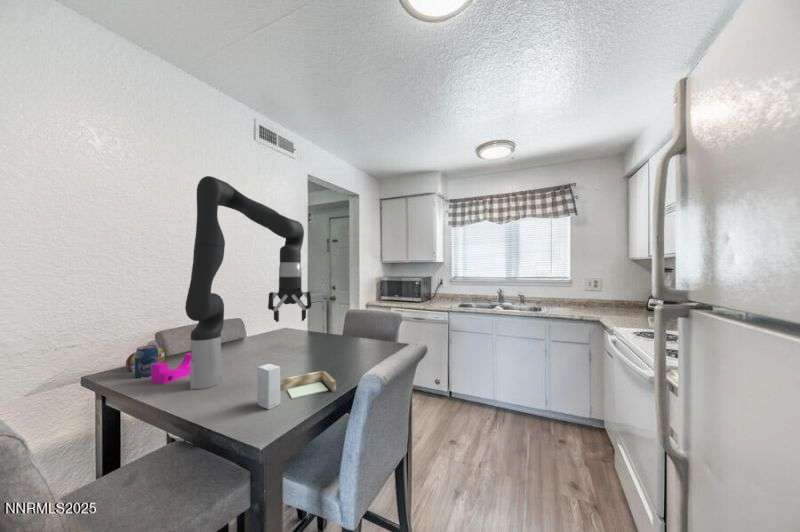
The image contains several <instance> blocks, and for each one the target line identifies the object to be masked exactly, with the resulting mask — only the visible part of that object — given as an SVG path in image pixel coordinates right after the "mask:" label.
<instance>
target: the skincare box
mask: <svg viewBox="0 0 800 532" xmlns="http://www.w3.org/2000/svg"><path fill="white" fill-rule="evenodd" d="M280 379H281V366H278V365H275V364H272V363H267V364H263V365H260V366H257V406H259V407H261V408H264V409H267V410H271V409H273V408H275V407H278V406H279V405H281V390H280Z"/></svg>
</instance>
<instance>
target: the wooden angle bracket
mask: <svg viewBox="0 0 800 532" xmlns="http://www.w3.org/2000/svg"><path fill="white" fill-rule="evenodd" d="M318 382H323V383H324V384H325V386H327V387H326V388H327V389H328V390H329V389H330V391H331V392H332V393H334V392H337V380H335V378H333V377H332V376H331V375H330V374H329V373H328V372H327V371H326V370H318V371H315V372H310V373H309V372H308V373H304V374H300V375H295V376H290V377H284V378H280V391H283V390H287V389H291V388H295V387H300V386H305V385H309V384H314V383H318Z"/></svg>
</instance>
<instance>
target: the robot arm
mask: <svg viewBox="0 0 800 532" xmlns="http://www.w3.org/2000/svg"><path fill="white" fill-rule="evenodd" d="M219 207H225V208H228V209H232V210H235V211H236V212H239V213H240V214H242V215H244V216H245V217H247V219H249V220H250V221H252V222H254V223H255V224H258V225H259V226H262V227H264V228H266V229H267V230H269V231H271V232H272V233H274V234H275V235H277V236H279V237H281V238H283V239H285V242H284V245H283V246H281V247H280V249H279V265H278V291H277V292H274V291H270V292H269V293H268V303H267V305H268V306H267V309H268V311H269V310H271V311H273V320H274V321H275V322H276V323H278V322H279V321H280V310H279V309H280V308H281V307H282V305H283V304H284V305H295V304H297V305H298V306H299V308H301V322H304V321H305V320H306V318H307V310H308V309H311V308H312V296H311V295H312V294H311V291H310V290H308V291H303V290H302V274H303V273H302V260H301V259H302V258H301V257H302V253H301V251H302V247H303V242H304V238H305V229H304V226H303V224H302V222H301V221H297V220H294V219H293V218H289V217H287V216H284V215H283V214H280V213H279V212H278V211H276V210H275V209H273V208H271V207H269V206H267V205H265V204H263V203H261V202H258V201H255V200H253V199H251V198H249V197H248V196H246V195H244V194H243V193H242V192H240V191H239V190H238V189H236V188H235V187H233V186H232V185H231V184H230V183H228V182H226V181H224V180H221V179H220V178H216V177H214V176H210V175H206V176H203V177H202V178H200V180H199V181H198V184H197V187H196V227H195V237H194V246H193V257H192V267H191V276H190V283H189V286H188V291H187V295H186V298H185V299H186V300H185V308H184V309H185V313H186V316H187V317H188V318H189V319H190V320H191V321H193V322H197V324H196V326H195V328H193V330H191V332H190V353H191V362H190V374H189V375H190V376H189V386H190V388H189V389H190V391H191V390H204V389H210V388H212V387H216V386H218V385H219V384H221V382H222V330H223V328H224V324H225V323H224V319H225V317H224V316H225V304H224V303H225V302H224V300H223V298H222V297H221V296H220V295H219V294H217V293H213V292H212V285H213V282H214V279H215V277H216V275H217V274H218V271H219V270H220V267H221V266H222V263H223V261H224V257H225V255H224V254H225V248H226V247H225V245H226V240H225V236H224V234H223V230H222V228H221V226H220V222H219V218H218V210H219ZM303 296H304V297H305V298H306V302H307V304H306V305H305V304H304V302H303V300H301V298H302V297H303ZM276 297H278V298H279V302H278V303H277V304H276V306H275V305H274V299H276Z"/></svg>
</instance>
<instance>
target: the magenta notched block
mask: <svg viewBox="0 0 800 532" xmlns="http://www.w3.org/2000/svg"><path fill="white" fill-rule="evenodd" d="M190 362H191V352H188V353H185V354H184V356H183V359H182V361H181V363H180V364H179V365H178V366H176V367H175V368H173V369H170V368H169V366H168V365H167V364H168V363H167V362H161V363H160V362H158V363H155V364H152V365H151V380H150V382H151V383H153V382H157V383H156V384H161V383H164V384H163V385H166V384H167V383H168V382H169V383H170V381H171V382H174V381H176V380H178V378H179V379H181V378H184V377H186V375H187V376H189V375H190ZM175 379H176V380H175ZM173 380H174V381H173ZM165 383H166V384H165ZM169 383H168V384H169Z"/></svg>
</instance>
